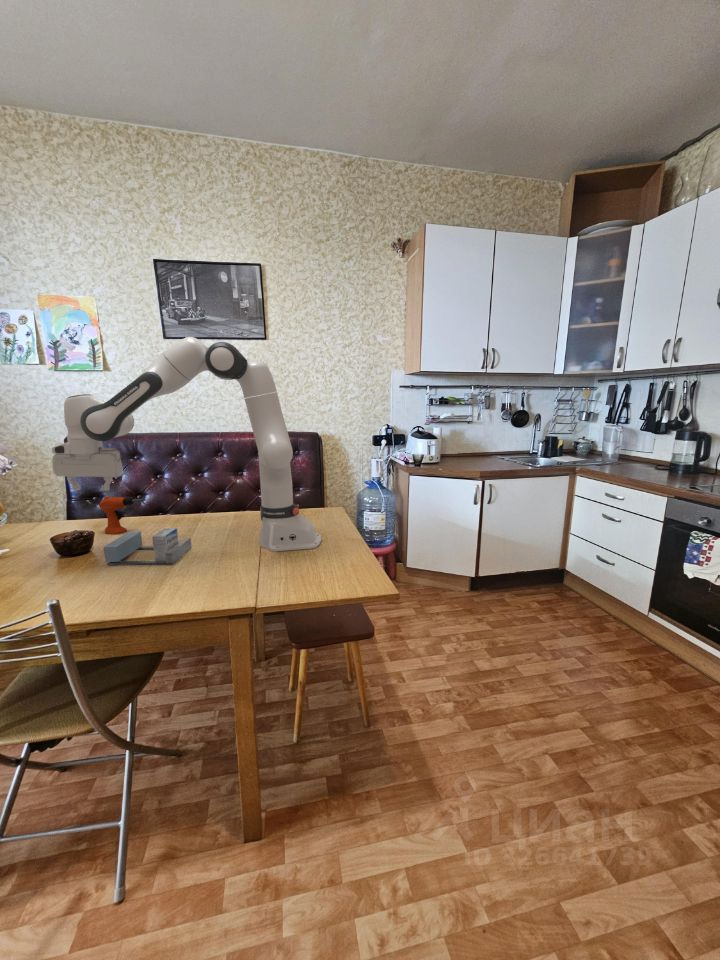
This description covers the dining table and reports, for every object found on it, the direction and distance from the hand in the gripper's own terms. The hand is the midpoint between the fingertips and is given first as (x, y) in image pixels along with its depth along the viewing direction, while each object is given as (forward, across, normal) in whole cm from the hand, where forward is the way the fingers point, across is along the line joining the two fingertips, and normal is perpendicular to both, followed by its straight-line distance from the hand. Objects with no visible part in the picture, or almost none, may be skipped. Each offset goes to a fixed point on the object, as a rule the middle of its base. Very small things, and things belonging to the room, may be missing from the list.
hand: (91, 490), depth 124 cm
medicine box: (+22, -22, 0) cm, 32 cm away
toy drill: (+23, +5, -24) cm, 33 cm away
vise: (+22, -17, 0) cm, 28 cm away
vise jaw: (+21, -8, 0) cm, 23 cm away
